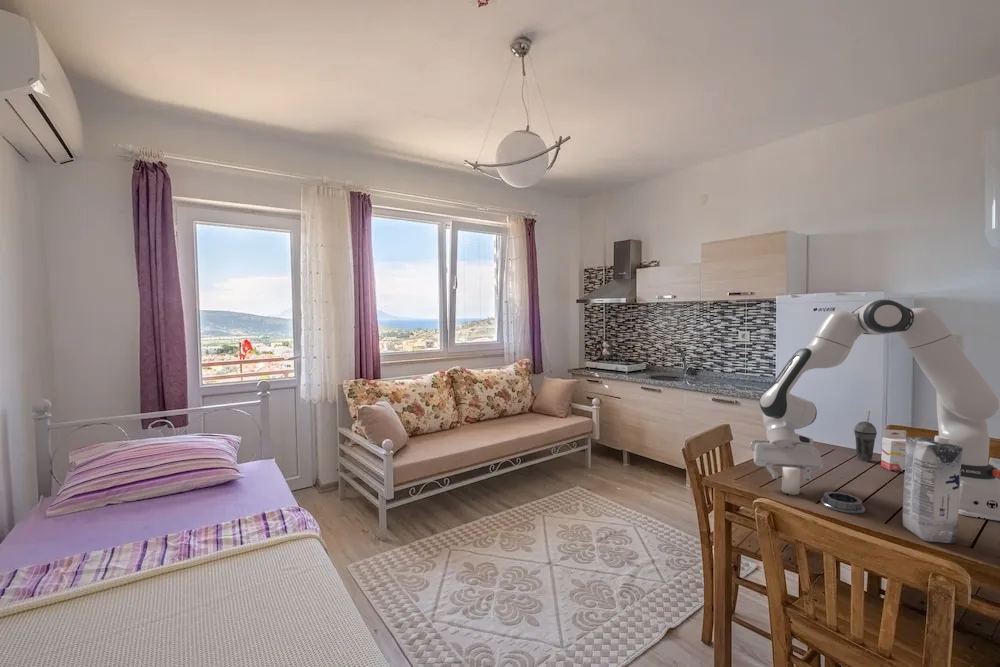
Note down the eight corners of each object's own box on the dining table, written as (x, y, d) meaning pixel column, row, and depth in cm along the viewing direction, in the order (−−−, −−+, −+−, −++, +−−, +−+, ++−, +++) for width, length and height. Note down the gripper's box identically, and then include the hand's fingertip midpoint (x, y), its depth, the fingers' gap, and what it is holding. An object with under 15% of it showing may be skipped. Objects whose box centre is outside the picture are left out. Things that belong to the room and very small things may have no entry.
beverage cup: (848, 457, 189) (850, 409, 188) (866, 457, 188) (868, 409, 187) (861, 462, 181) (863, 413, 180) (880, 463, 181) (882, 413, 180)
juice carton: (922, 543, 119) (927, 440, 117) (896, 524, 129) (901, 430, 128) (963, 546, 117) (969, 442, 116) (933, 527, 127) (938, 432, 126)
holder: (865, 505, 142) (865, 496, 142) (864, 517, 134) (864, 508, 133) (822, 495, 149) (822, 488, 149) (818, 507, 141) (819, 498, 140)
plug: (800, 491, 153) (801, 467, 152) (798, 496, 149) (799, 471, 149) (783, 487, 156) (783, 464, 156) (780, 492, 152) (781, 468, 152)
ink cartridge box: (890, 471, 172) (891, 432, 171) (880, 466, 177) (882, 429, 176) (914, 472, 171) (916, 433, 170) (904, 467, 176) (906, 429, 175)
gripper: (751, 435, 161) (758, 471, 152) (818, 439, 156) (829, 477, 147) (747, 444, 166) (754, 480, 157) (812, 448, 160) (823, 486, 151)
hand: (791, 479), depth 152 cm, fingers open, 8 cm apart
